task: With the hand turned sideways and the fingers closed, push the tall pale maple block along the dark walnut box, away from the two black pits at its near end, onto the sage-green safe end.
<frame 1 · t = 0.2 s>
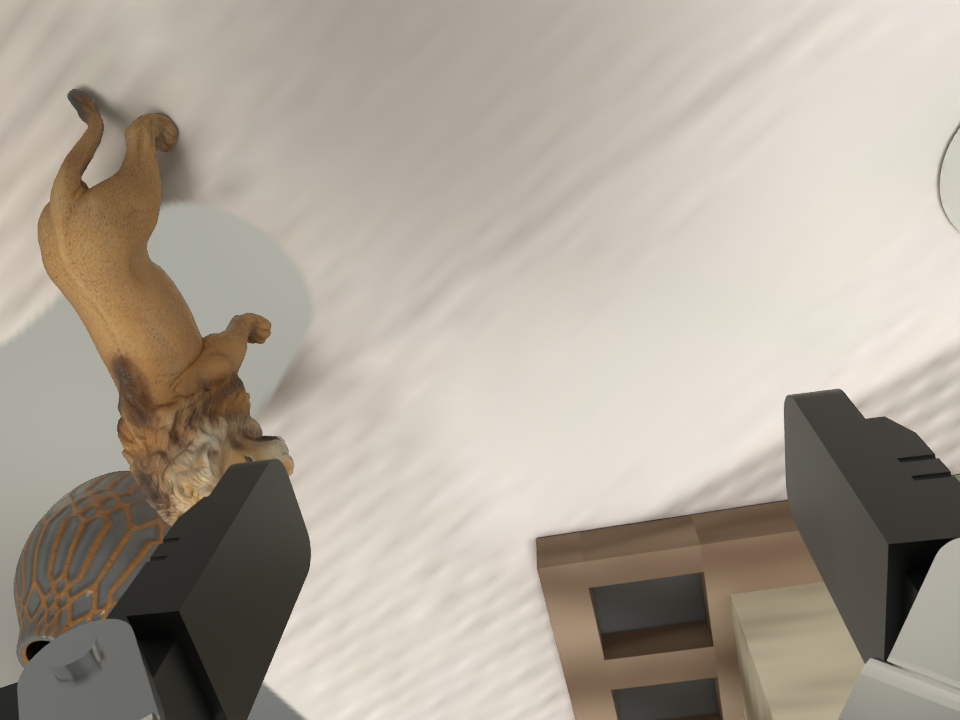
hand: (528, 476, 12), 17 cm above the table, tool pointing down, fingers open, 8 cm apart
maple block: (898, 639, 34), point 2 cm above the table, touching trap box
lion figurine: (213, 274, 30), on the table
trap box: (879, 606, 36), on the table
vase: (155, 505, 35), on the table
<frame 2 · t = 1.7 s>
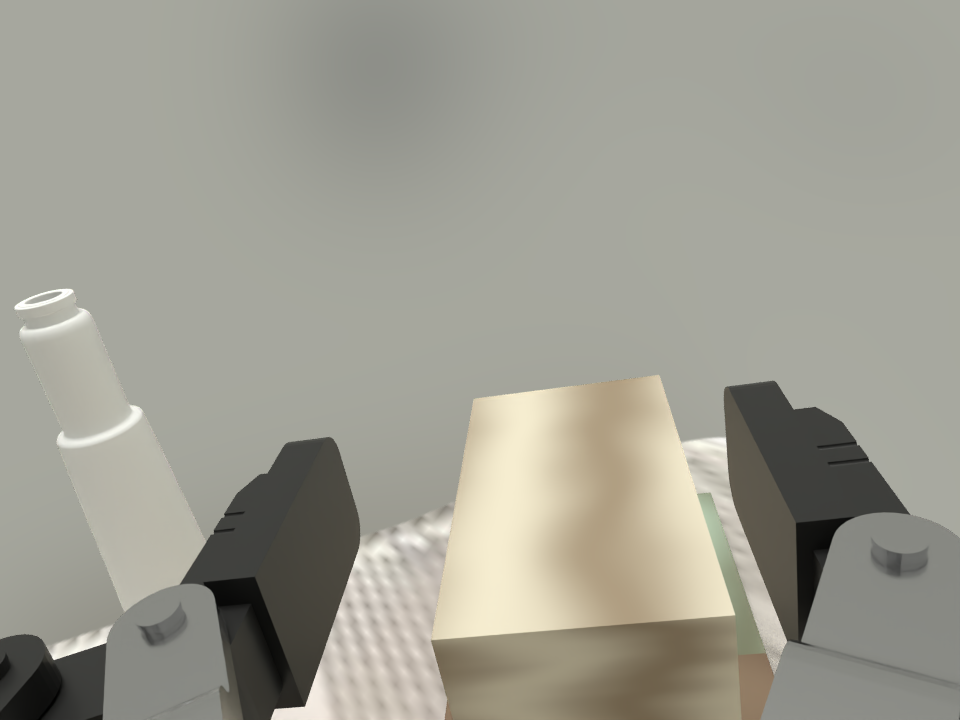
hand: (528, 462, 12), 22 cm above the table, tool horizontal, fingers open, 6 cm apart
cosmetic bottle: (219, 694, 39), on the table
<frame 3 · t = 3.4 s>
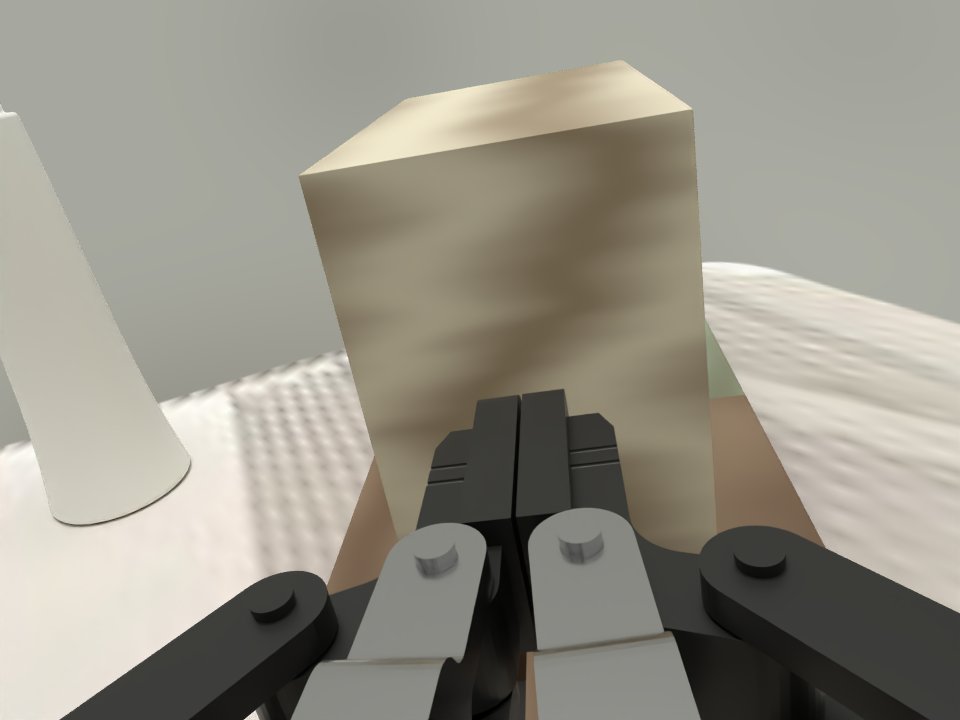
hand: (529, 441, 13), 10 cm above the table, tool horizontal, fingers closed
maple block: (558, 459, 26), point 2 cm above the table, touching trap box
trap box: (566, 506, 27), on the table
cosmetic bottle: (125, 488, 34), on the table
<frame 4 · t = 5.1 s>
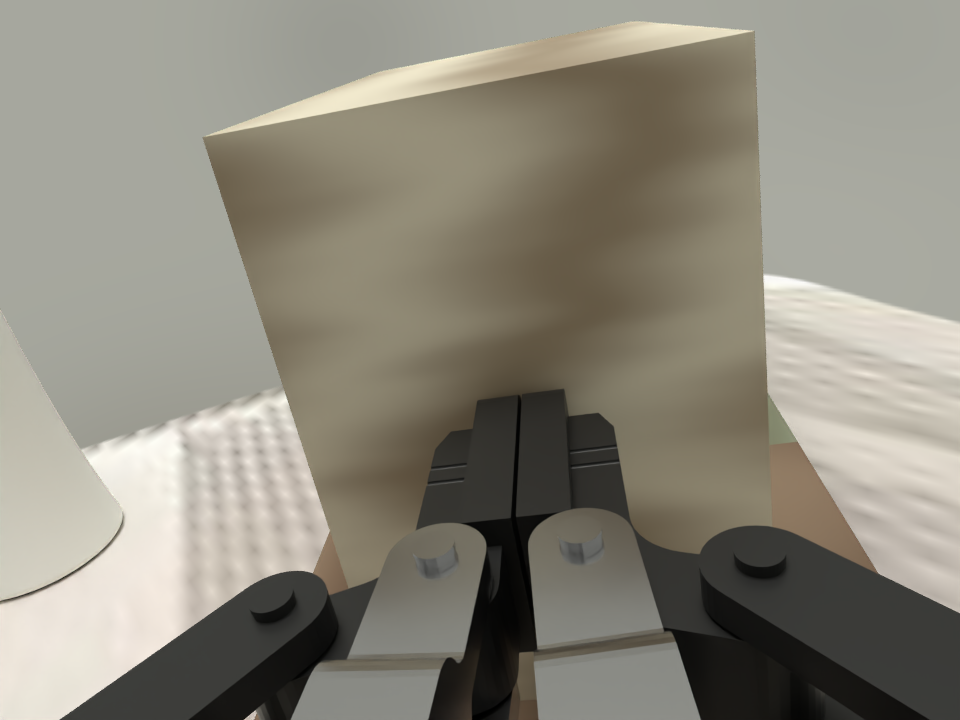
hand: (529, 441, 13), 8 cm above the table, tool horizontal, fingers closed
maple block: (564, 498, 22), point 2 cm above the table, touching gripper, trap box
trap box: (574, 587, 21), on the table
cosmetic bottle: (43, 553, 29), on the table
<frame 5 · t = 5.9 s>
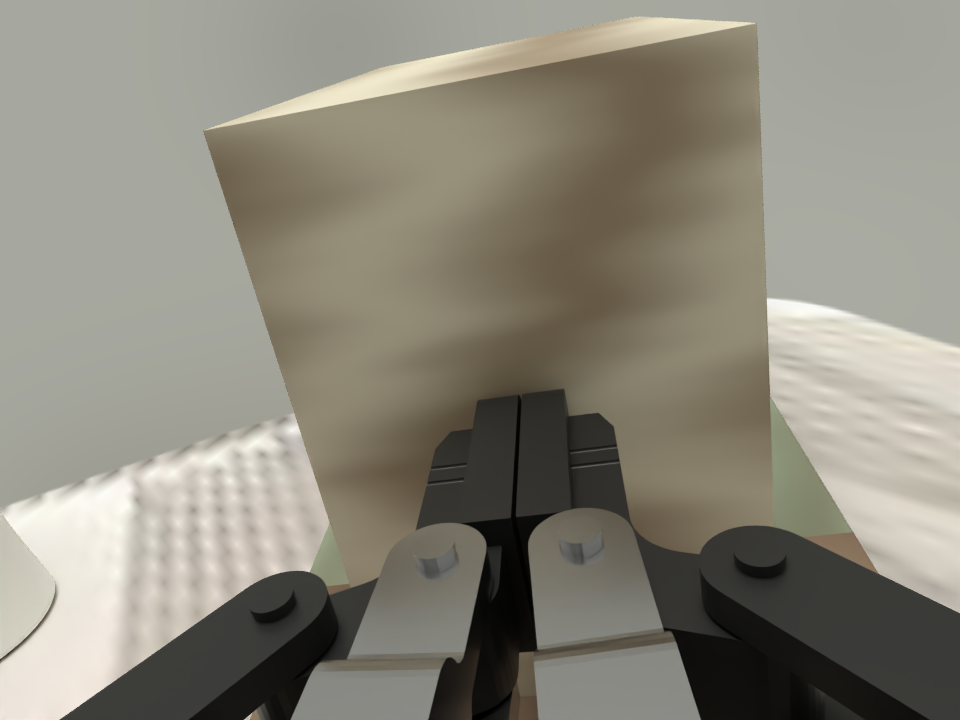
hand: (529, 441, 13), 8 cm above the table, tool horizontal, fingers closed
maple block: (566, 494, 22), point 2 cm above the table, touching gripper, trap box
trap box: (580, 717, 17), on the table
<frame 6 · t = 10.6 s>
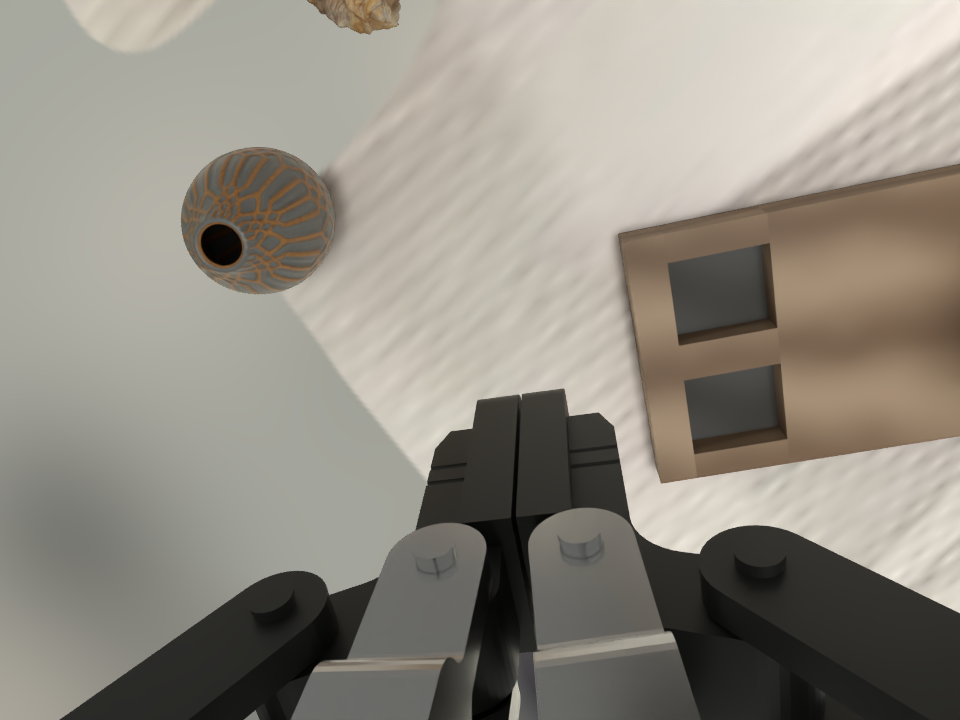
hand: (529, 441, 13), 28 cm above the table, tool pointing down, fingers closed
trap box: (923, 304, 40), on the table
vase: (284, 207, 40), on the table
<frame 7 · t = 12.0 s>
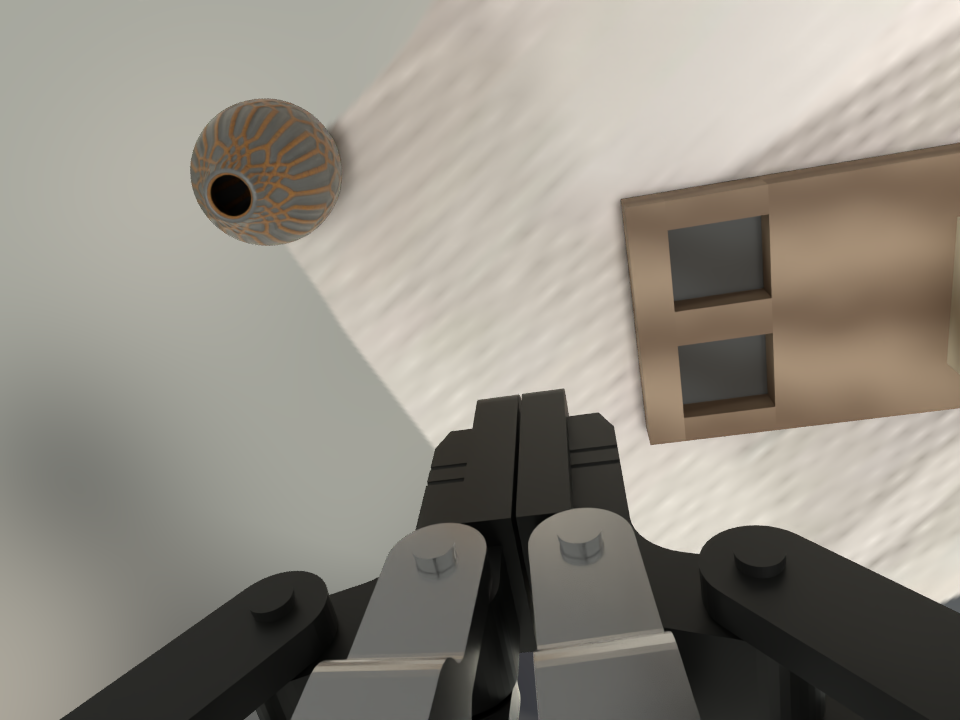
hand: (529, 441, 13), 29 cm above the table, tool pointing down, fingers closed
trap box: (916, 280, 41), on the table
vase: (291, 159, 41), on the table
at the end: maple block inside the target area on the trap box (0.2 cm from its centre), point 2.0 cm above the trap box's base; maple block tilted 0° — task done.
